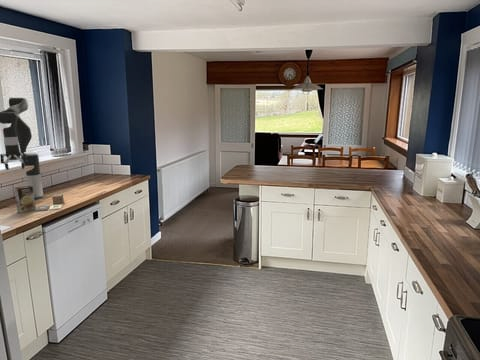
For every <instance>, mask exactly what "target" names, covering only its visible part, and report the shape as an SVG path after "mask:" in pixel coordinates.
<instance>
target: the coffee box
mask: <svg viewBox="0 0 480 360" xmlns="http://www.w3.org/2000/svg"><path fill="white" fill-rule="evenodd" d="M14 194H15V202H16V210H17V212H18V213H20V214H23V213H27V212H32V211H35V210H36V209H37V207H36V201H35V198H34V193H33V187H32V186H28V185H24V186H17V187H14Z"/></svg>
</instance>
